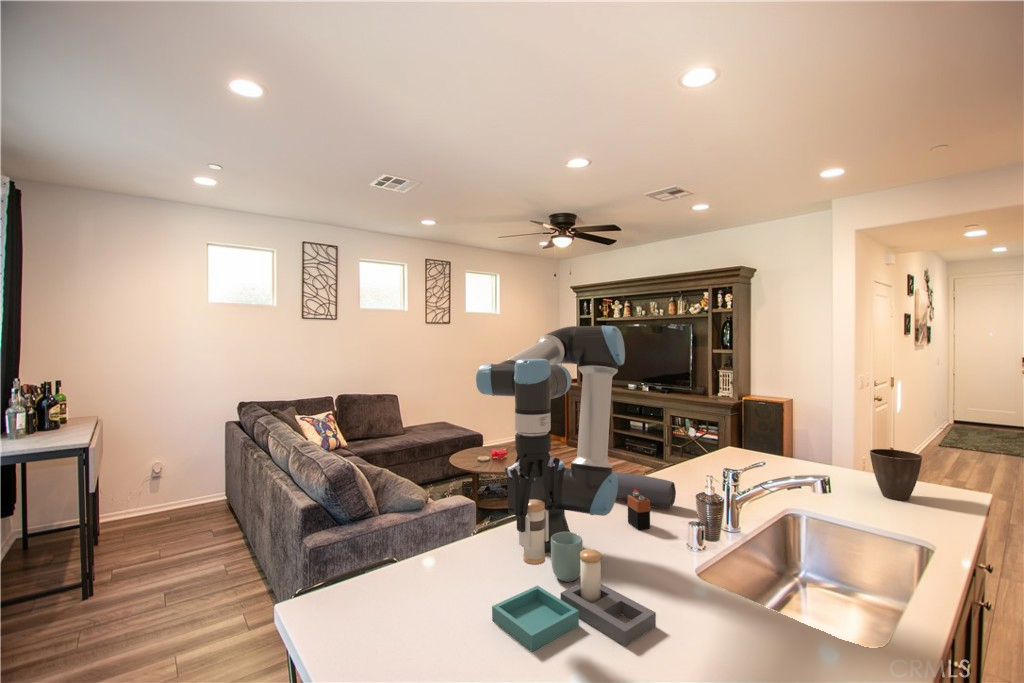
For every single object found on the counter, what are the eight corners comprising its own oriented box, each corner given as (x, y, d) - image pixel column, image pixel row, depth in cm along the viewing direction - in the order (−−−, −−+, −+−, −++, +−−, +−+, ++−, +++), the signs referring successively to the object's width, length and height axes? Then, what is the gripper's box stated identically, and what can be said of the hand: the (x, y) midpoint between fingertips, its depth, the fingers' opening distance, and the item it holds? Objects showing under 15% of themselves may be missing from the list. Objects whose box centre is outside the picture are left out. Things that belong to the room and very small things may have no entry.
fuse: (576, 606, 107) (575, 553, 107) (590, 598, 110) (589, 547, 110) (591, 615, 104) (591, 560, 103) (605, 607, 106) (605, 554, 106)
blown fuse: (518, 559, 101) (518, 502, 101) (535, 552, 104) (534, 498, 104) (533, 567, 97) (532, 508, 97) (549, 560, 100) (549, 503, 100)
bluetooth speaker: (605, 501, 173) (605, 473, 173) (615, 493, 181) (615, 467, 181) (668, 514, 160) (668, 484, 160) (676, 505, 168) (676, 477, 168)
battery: (639, 521, 155) (638, 490, 154) (650, 529, 148) (650, 497, 148) (627, 522, 153) (626, 491, 153) (638, 531, 147) (638, 498, 147)
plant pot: (859, 491, 180) (859, 449, 180) (895, 489, 182) (895, 447, 181) (895, 505, 165) (895, 459, 165) (933, 503, 167) (934, 458, 167)
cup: (562, 588, 114) (562, 547, 114) (545, 574, 121) (545, 535, 121) (588, 580, 118) (588, 540, 118) (570, 567, 125) (570, 529, 125)
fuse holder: (560, 606, 107) (560, 592, 107) (590, 590, 113) (590, 578, 113) (625, 646, 93) (625, 631, 93) (655, 626, 99) (655, 612, 99)
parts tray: (492, 620, 102) (492, 606, 102) (537, 598, 110) (537, 585, 110) (532, 651, 92) (531, 635, 92) (578, 625, 100) (578, 610, 100)
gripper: (511, 441, 92) (512, 561, 92) (575, 429, 103) (575, 537, 103) (488, 435, 98) (489, 548, 98) (551, 424, 109) (552, 526, 109)
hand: (533, 542), depth 101 cm, fingers closed on blown fuse, 4 cm apart
